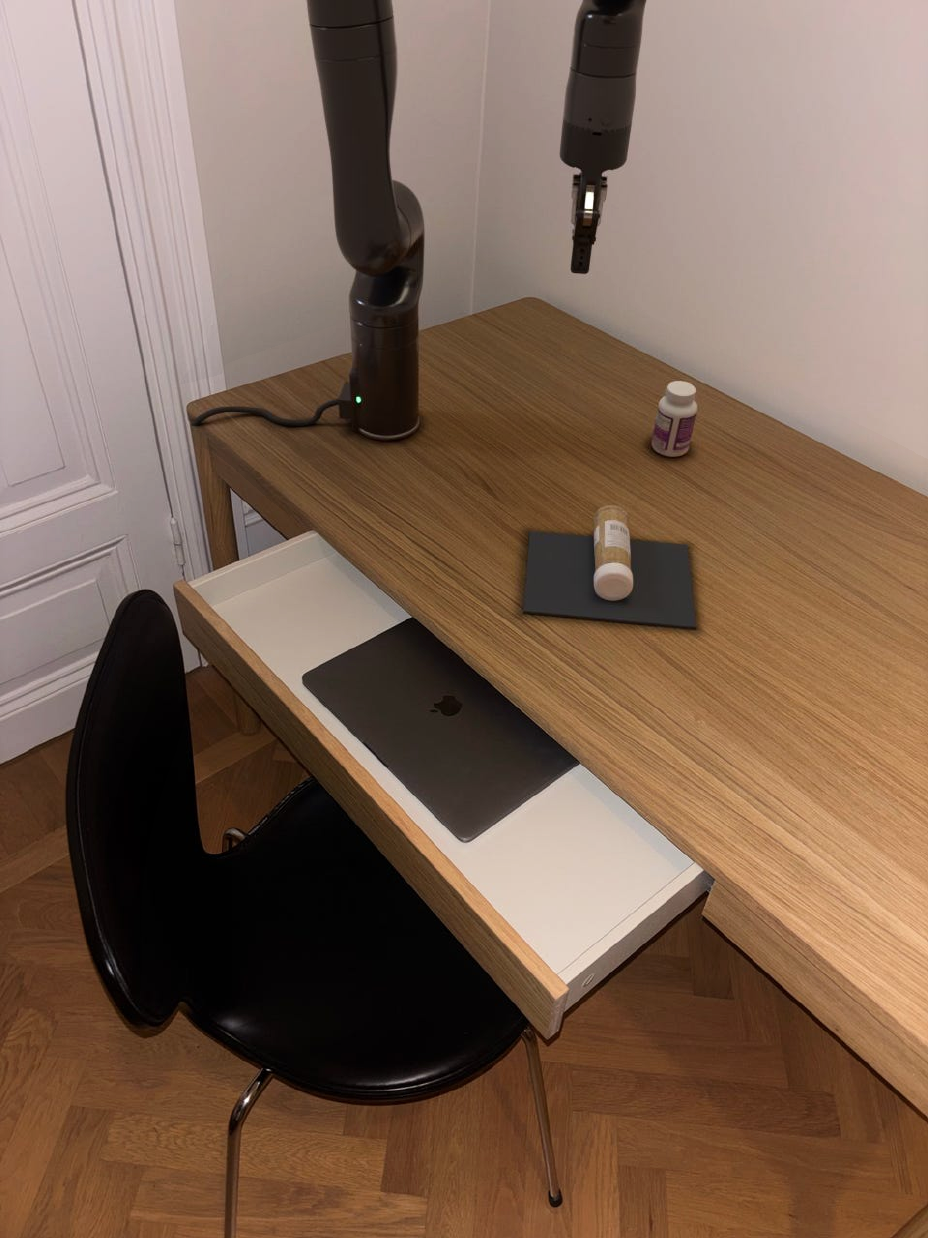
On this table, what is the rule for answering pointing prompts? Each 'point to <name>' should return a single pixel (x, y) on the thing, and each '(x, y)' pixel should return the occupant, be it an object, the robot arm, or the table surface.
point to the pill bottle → (675, 419)
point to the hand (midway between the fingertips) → (579, 270)
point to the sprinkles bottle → (612, 553)
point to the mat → (568, 582)
